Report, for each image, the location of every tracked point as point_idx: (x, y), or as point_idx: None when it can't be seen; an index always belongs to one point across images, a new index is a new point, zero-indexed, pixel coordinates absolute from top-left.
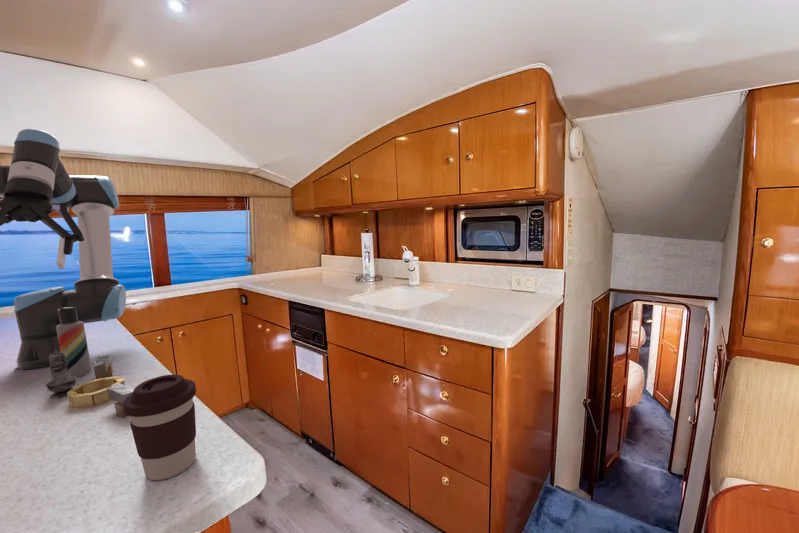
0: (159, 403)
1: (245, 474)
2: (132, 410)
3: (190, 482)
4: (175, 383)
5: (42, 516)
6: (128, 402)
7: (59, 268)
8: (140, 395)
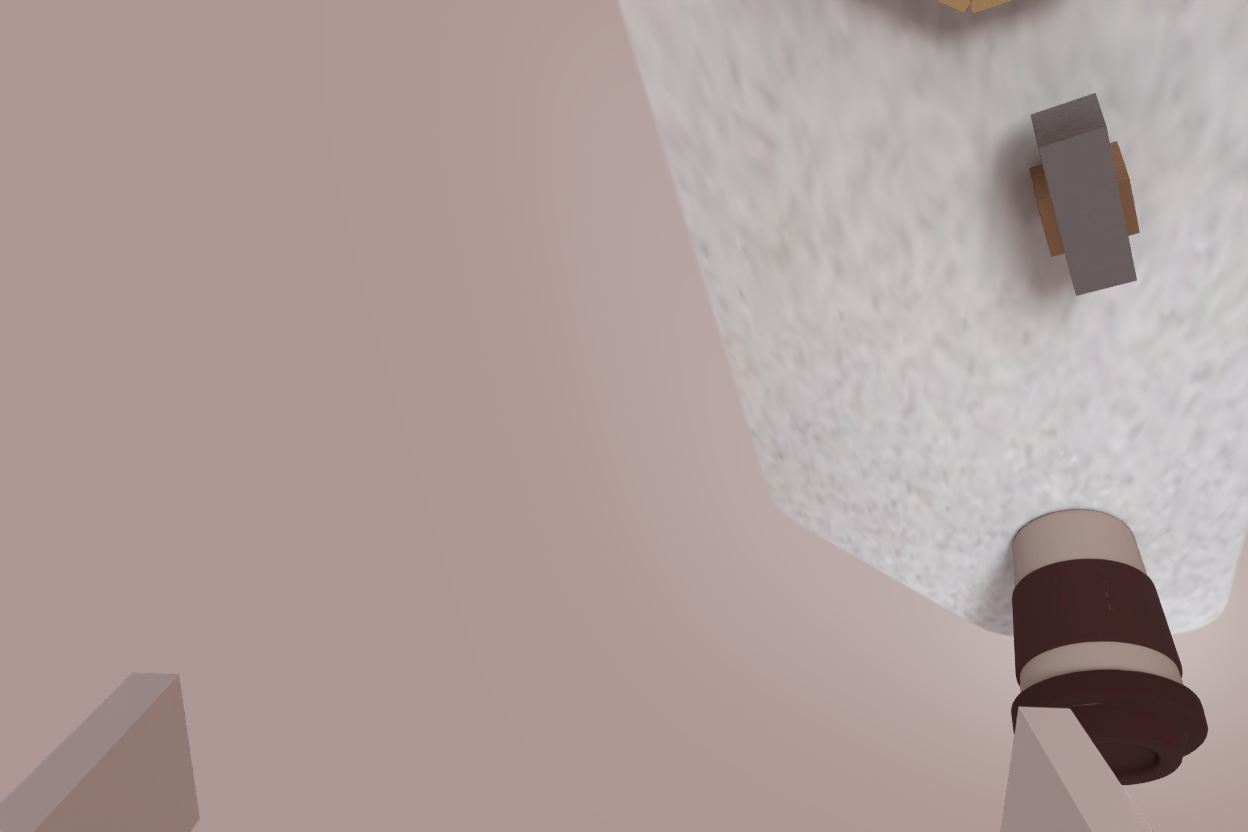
0: None
1: (1173, 632)
2: None
3: None
4: (1141, 782)
5: (828, 522)
6: None
7: (1018, 722)
8: None
